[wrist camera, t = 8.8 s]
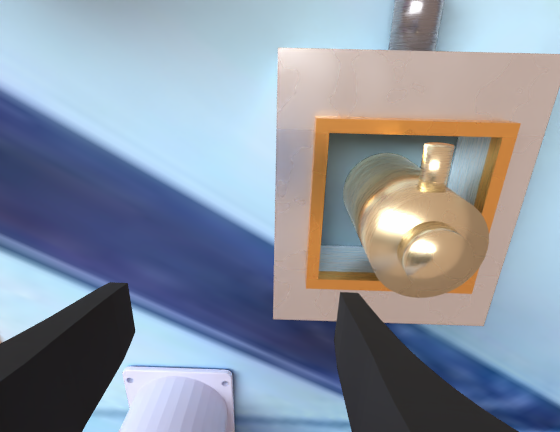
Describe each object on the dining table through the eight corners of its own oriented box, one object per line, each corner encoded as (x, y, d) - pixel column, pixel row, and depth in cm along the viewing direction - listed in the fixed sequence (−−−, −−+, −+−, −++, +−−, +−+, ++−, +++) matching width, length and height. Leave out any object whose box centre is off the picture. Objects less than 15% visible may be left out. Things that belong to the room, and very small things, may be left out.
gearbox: (459, 294, 22) (491, 336, 19) (274, 288, 22) (272, 328, 19) (542, -15, 16) (616, -40, 12) (281, -20, 16) (279, -47, 12)
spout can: (415, 227, 20) (487, 314, 13) (340, 226, 20) (370, 313, 13) (433, 122, 18) (533, 155, 11) (348, 122, 18) (389, 155, 11)
